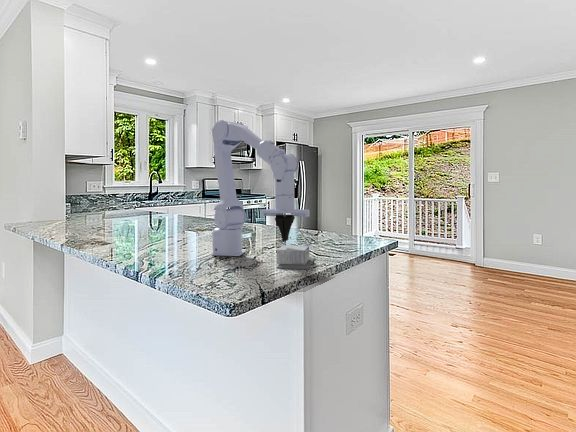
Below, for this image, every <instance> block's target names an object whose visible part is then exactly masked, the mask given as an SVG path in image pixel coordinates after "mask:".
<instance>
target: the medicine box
mask: <svg viewBox="0 0 576 432" xmlns="http://www.w3.org/2000/svg"><path fill="white" fill-rule="evenodd" d="M309 258H310V246H309V245H303V244H302V245H300V244H299V245H293V244H283V245H281V246H280V247H279V248H278V249H277V250H276V264H277V265H279V264H290V265H306V263H307V262H308V260H309Z"/></svg>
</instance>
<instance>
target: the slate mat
mask: <svg viewBox="0 0 576 432" xmlns="http://www.w3.org/2000/svg"><path fill="white" fill-rule="evenodd" d="M315 260H316V257H309V260H308V262H307V263H306V265H290V264H277V266H276V269H286V270H287V269H288V270H304V269H305V270H307V271H308V270H309V269H310V267H311V266H312V265H313V263H314V261H315ZM305 270H304V271H305Z"/></svg>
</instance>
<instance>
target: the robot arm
mask: <svg viewBox="0 0 576 432" xmlns="http://www.w3.org/2000/svg"><path fill="white" fill-rule="evenodd" d="M211 134H212V140H213V141H212V142H213V155H214V161H215V169H216V176H217V184H218V191H219V199H220V200H219V202H217V203H216V205H215V206H214V211H215V212H214V223H215V225H216V226H217V227H216V228H214V229H213V232H212V254H211V256H223V257H226V256H227V257H239V256H242V255H243V254H245V253H246V252H247V250H245V249H243V235H242V232H243V231H242V230H243V229H242V228H243V227H244V224H245V223H246V220H247V212H246V211H245V209H244V205H243V203H242V202H241V201H240V200H239V199H238V197H237V191H236V189H237V188H236V184H235V176H234V168H233V161H232V160H233V159H232V154H231V153H232V151H233V149H234V150H235V149H236V148H237V147H238V146H239V145H240V144H241V143H242V142H244V143H245V144H247V145H248V146H250V147H252V148H253V149H255V150H256V155H257V156H258V157H259V158H260V159H261V160H263V161H264V162H265V163H266V164H268V165H269V167H270V170H271V171H272V173H273V178H274V193H275V194H274V200H275V201H274V204H275V206H274V207H275V208H273V209H271V208H270V209H267V208H266V209H260V216H261V217H274V220H275V222H276V225H277V227H278V229H279V231H280V235H281V240H282V242H288V241H289V235H290V232H291V228H292V225H293V223H294V221H295V218H296V217H304V218H310V209H295V173H296V171H297V170H298V168H299V161H298V159H297V157H296V156H295V155H294V154H293V153H286V150H285V149H282V148H279V147H278V146H277V145H275V144H276V143H275V141H273V140H268V139H267V140H262V138H260V137H259V136H258V135H257V134H255V133H254V132H253V131H252V130H251V129H249V127H248V126H247V125H245V124H244V123H242V122H234V121H228V120H225V119H224V120H223V119H219V120H217V121H216V122H215V123H214V125H213V127H212V129H211Z"/></svg>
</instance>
